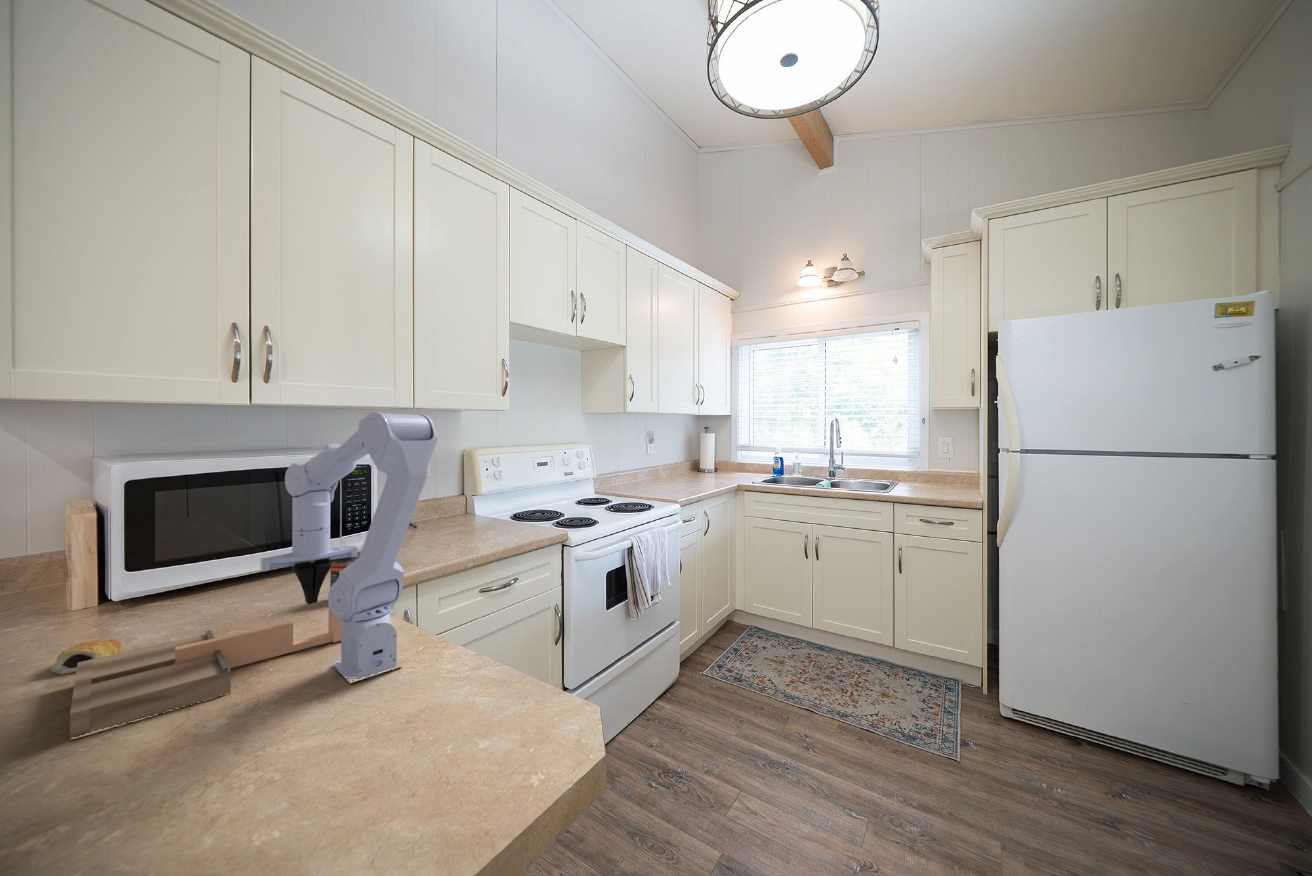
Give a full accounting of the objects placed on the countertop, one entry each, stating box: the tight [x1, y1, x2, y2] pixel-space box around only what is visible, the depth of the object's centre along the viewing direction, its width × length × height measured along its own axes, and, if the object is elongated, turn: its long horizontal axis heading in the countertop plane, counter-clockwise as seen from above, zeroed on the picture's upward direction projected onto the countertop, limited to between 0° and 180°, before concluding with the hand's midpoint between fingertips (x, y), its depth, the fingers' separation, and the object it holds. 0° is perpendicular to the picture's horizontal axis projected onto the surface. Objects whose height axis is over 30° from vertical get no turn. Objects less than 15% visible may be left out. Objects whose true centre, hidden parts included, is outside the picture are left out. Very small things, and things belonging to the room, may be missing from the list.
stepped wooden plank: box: [175, 608, 341, 669], centre depth 85 cm, size 3×23×6 cm, turn 138°
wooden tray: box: [69, 629, 232, 739], centre depth 75 cm, size 20×16×4 cm
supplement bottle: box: [329, 557, 358, 588], centre depth 116 cm, size 6×6×11 cm
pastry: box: [50, 639, 122, 675], centre depth 84 cm, size 9×7×4 cm
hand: (311, 602), depth 90 cm, fingers closed
